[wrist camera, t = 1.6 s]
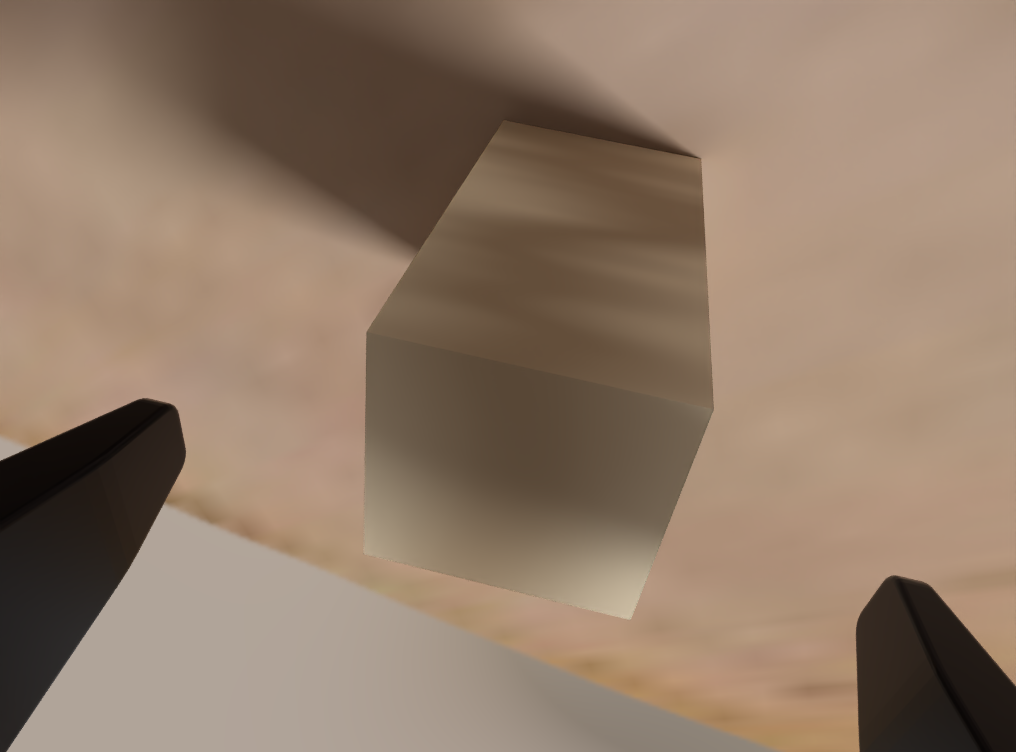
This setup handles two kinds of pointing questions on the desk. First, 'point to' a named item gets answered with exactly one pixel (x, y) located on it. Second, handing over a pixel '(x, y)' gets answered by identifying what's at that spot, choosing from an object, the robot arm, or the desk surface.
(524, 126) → the maple peg
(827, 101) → the desk surface
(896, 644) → the robot arm
